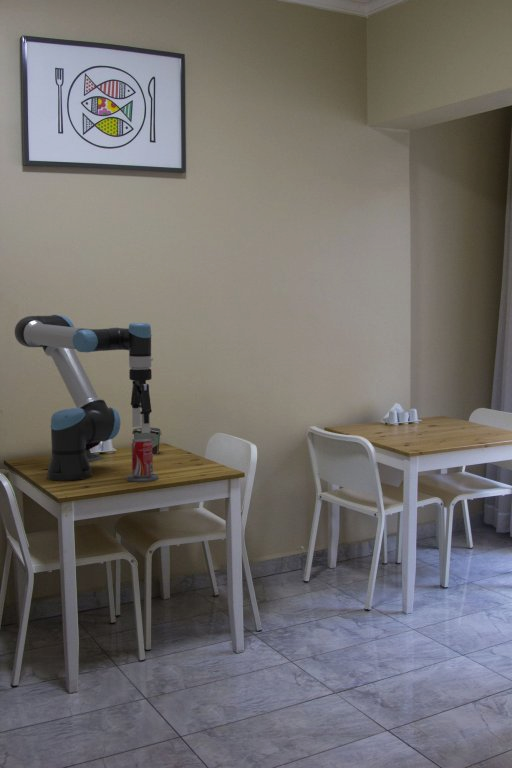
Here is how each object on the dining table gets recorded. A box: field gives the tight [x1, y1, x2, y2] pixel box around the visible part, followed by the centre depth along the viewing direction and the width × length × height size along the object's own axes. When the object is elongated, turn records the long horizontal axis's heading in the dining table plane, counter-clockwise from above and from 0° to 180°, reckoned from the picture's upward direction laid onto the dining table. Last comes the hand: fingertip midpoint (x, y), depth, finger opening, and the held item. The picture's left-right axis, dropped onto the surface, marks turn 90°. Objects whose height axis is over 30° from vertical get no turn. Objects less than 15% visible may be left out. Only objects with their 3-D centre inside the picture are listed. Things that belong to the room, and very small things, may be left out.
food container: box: [131, 426, 162, 456], centre depth 343 cm, size 12×6×10 cm, turn 72°
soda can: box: [131, 438, 154, 478], centre depth 295 cm, size 7×7×13 cm
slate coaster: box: [126, 473, 159, 483], centre depth 296 cm, size 11×11×1 cm
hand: (141, 429), depth 294 cm, fingers open, 13 cm apart
